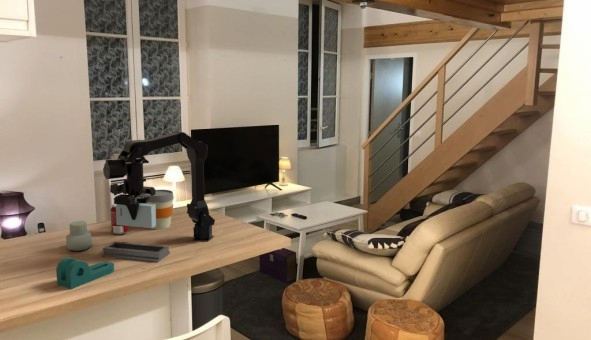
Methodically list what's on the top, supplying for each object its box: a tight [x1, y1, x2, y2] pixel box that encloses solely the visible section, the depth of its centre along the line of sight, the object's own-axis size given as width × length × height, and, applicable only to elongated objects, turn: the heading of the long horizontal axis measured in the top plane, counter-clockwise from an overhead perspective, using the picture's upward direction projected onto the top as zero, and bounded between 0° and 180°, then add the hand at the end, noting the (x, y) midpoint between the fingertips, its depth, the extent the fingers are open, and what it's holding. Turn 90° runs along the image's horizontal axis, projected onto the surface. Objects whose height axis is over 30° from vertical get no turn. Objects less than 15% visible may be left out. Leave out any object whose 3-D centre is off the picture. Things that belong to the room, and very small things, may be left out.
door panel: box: [116, 203, 156, 229], centre depth 178 cm, size 14×3×8 cm, turn 77°
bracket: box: [55, 257, 115, 290], centre depth 158 cm, size 18×7×8 cm, turn 151°
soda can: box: [109, 203, 130, 236], centre depth 203 cm, size 7×7×12 cm
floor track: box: [101, 241, 171, 263], centre depth 179 cm, size 22×9×3 cm, turn 78°
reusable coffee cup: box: [146, 189, 175, 230], centre depth 213 cm, size 13×13×15 cm
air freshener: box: [65, 220, 93, 252], centre depth 184 cm, size 11×8×10 cm
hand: (136, 218), depth 178 cm, fingers closed on door panel, 3 cm apart
